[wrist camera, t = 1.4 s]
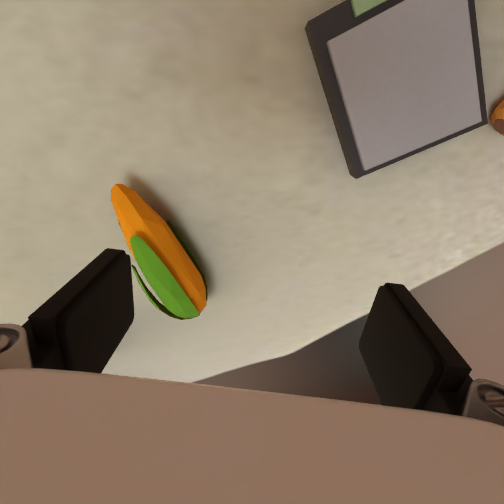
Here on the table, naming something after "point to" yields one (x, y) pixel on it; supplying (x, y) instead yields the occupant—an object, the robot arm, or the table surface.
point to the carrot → (498, 118)
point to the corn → (160, 256)
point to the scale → (398, 76)
